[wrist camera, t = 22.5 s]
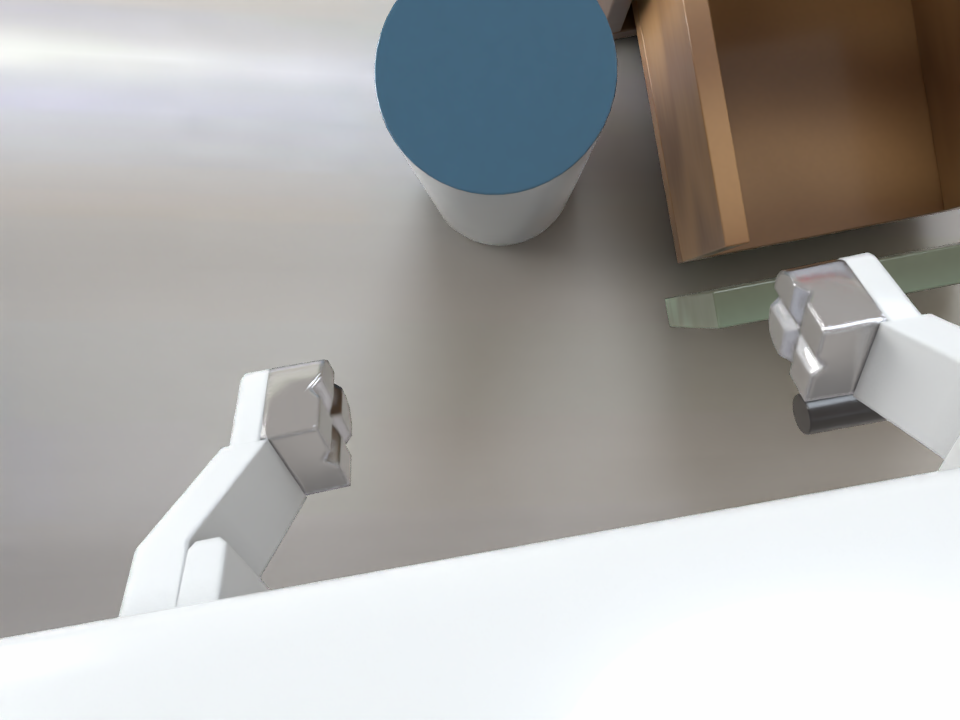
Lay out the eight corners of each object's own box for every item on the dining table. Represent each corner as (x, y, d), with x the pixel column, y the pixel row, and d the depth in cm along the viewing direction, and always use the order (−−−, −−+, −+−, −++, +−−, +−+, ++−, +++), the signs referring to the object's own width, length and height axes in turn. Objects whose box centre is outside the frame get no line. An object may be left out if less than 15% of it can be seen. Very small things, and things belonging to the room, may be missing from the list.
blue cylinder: (545, 265, 30) (569, 227, 18) (408, 218, 30) (341, 149, 18) (593, 125, 29) (652, -10, 17) (454, 78, 30) (418, -88, 18)
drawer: (990, 371, 28) (1141, 386, 22) (687, 426, 29) (742, 458, 22) (917, -93, 28) (1050, -228, 21) (606, -26, 28) (637, -136, 21)
